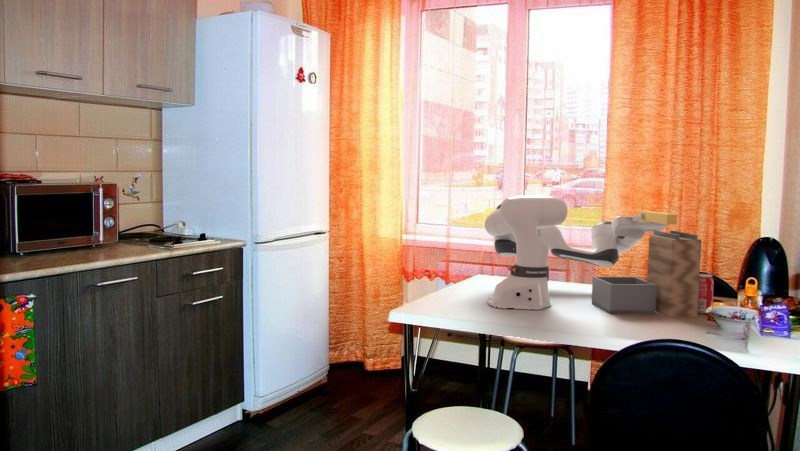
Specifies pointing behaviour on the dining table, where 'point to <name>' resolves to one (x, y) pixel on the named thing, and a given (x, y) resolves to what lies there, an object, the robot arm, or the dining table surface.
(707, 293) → the soda can
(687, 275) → the stand
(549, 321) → the dining table surface
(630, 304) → the bin
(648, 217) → the bar
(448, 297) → the dining table surface
